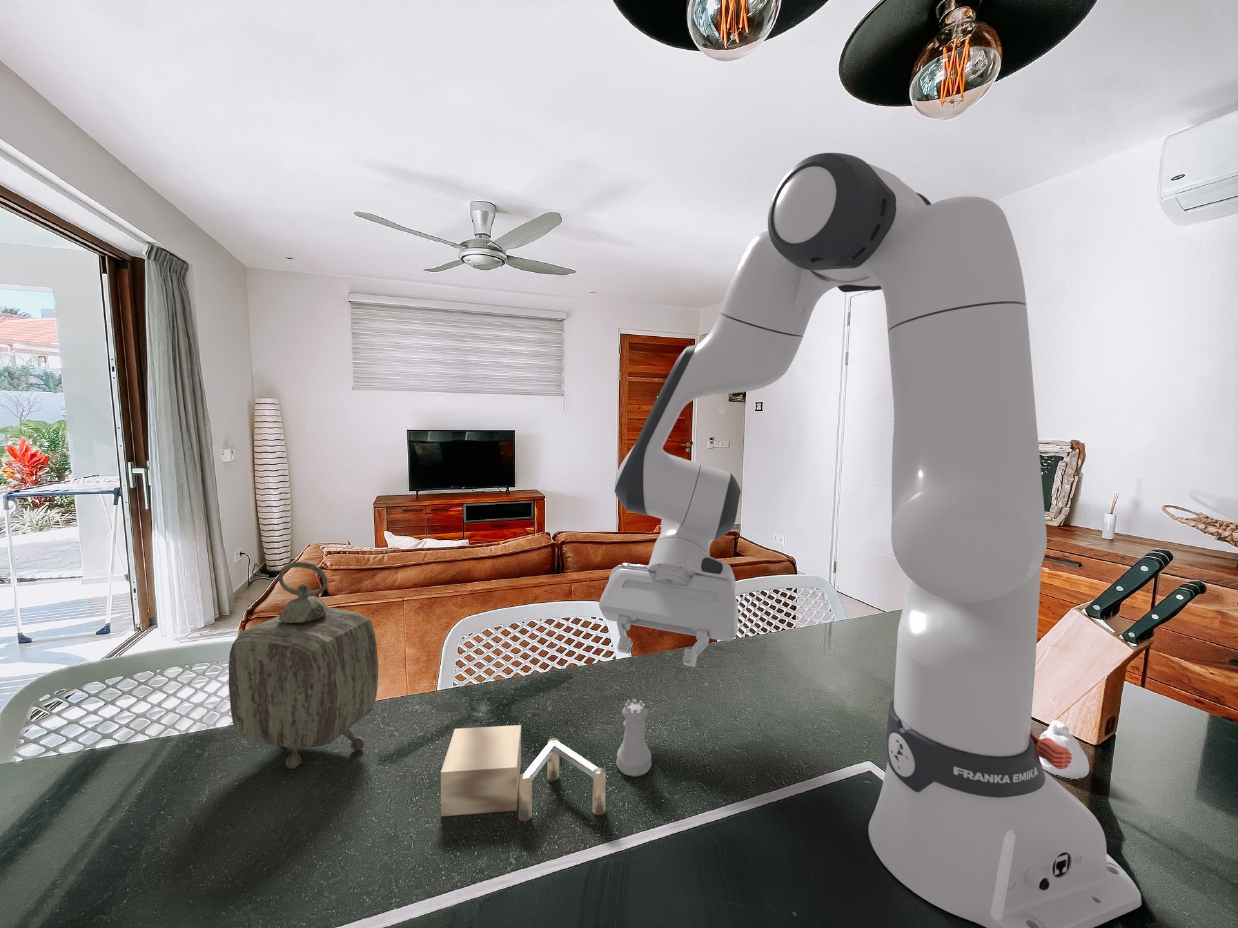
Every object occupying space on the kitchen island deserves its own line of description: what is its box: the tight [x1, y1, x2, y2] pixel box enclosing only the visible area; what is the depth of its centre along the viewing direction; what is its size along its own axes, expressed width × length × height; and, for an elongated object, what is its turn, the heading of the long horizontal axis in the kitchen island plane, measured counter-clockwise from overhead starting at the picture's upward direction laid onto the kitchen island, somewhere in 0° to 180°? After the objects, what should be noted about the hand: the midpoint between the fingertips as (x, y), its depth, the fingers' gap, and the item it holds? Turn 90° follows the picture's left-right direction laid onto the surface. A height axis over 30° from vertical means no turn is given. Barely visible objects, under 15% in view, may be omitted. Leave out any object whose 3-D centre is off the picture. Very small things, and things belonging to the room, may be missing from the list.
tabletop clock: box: [228, 561, 379, 770], centre depth 64 cm, size 14×9×25 cm, turn 77°
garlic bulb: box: [1038, 719, 1090, 780], centre depth 65 cm, size 6×6×5 cm
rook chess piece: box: [615, 698, 653, 778], centre depth 64 cm, size 4×4×8 cm
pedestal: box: [440, 724, 522, 817], centre depth 60 cm, size 8×8×5 cm
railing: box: [518, 737, 607, 822], centre depth 59 cm, size 9×7×4 cm
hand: (655, 657), depth 71 cm, fingers open, 8 cm apart
